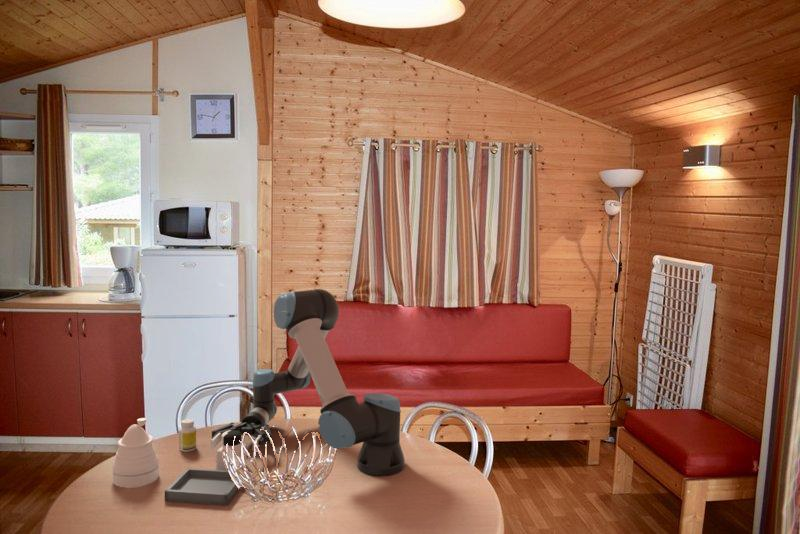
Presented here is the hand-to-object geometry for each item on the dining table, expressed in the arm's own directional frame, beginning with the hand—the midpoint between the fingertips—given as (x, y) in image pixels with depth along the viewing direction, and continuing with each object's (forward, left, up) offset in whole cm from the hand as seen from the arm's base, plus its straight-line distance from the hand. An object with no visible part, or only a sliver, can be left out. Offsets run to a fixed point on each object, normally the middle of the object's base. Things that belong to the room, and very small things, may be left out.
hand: (232, 445), depth 198 cm
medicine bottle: (-1, +3, -7) cm, 7 cm away
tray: (+1, +18, -7) cm, 19 cm away
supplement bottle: (+19, -10, -7) cm, 23 cm away
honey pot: (+25, +13, -7) cm, 29 cm away
